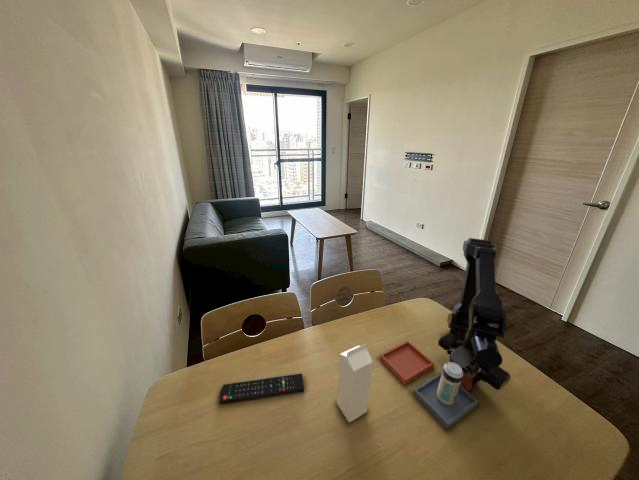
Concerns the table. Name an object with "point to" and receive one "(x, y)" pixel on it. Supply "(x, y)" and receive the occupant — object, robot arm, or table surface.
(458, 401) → the grey tray
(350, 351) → the milk
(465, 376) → the red block
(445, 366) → the pill bottle
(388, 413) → the table surface
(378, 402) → the table surface
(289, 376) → the remote control
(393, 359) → the red tray
